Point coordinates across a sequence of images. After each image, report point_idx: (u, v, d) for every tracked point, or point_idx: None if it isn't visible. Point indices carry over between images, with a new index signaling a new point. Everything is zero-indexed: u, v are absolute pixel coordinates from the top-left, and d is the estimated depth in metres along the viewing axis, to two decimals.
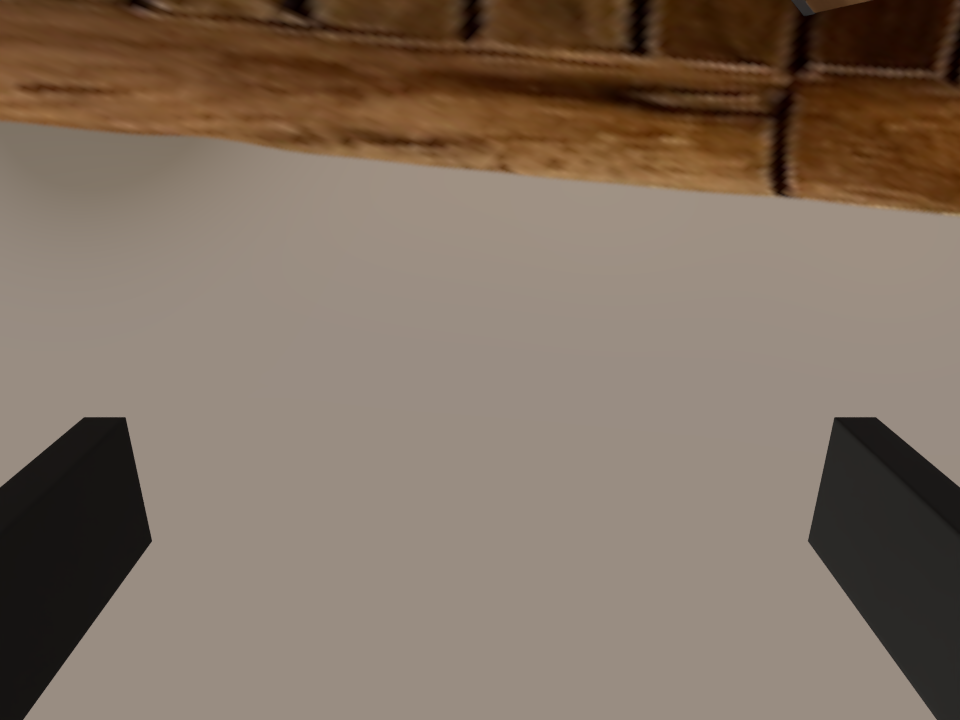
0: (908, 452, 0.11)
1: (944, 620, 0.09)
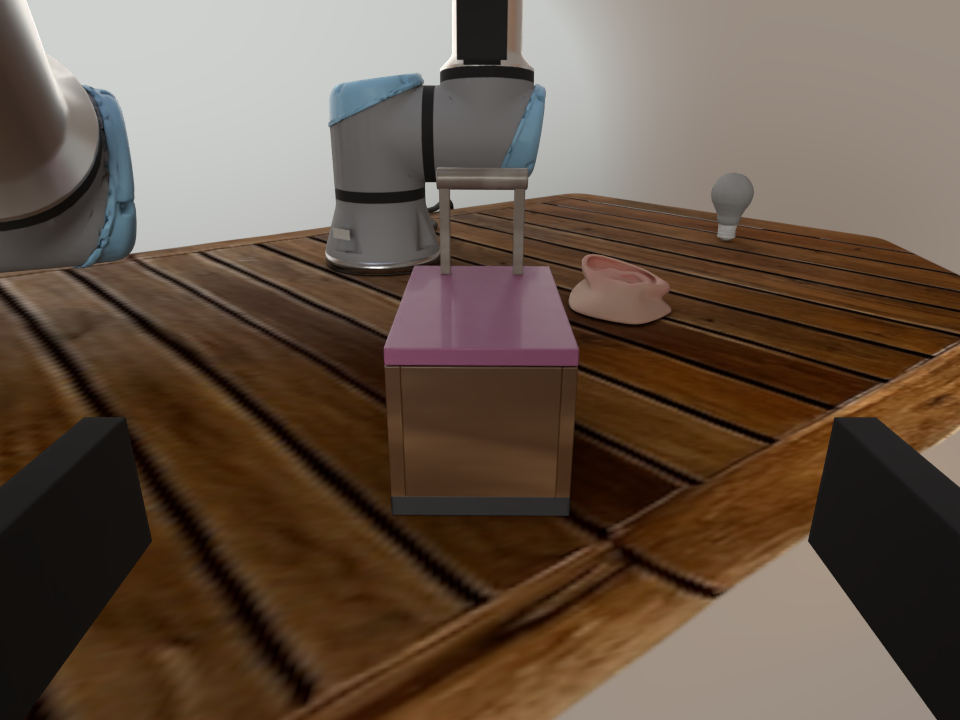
0: (908, 452, 0.11)
1: (944, 620, 0.09)
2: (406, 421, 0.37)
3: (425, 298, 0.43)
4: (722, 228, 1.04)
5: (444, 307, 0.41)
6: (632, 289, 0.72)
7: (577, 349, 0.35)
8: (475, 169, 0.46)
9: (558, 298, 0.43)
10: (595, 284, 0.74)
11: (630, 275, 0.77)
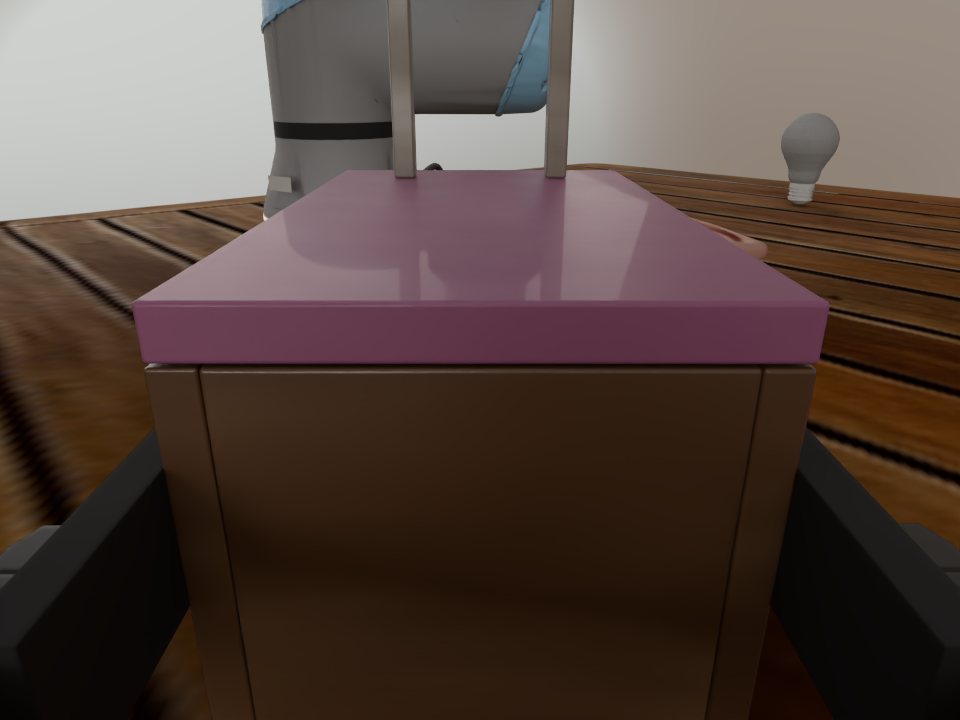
0: None
1: (807, 571, 0.10)
2: (239, 547, 0.11)
3: (344, 205, 0.18)
4: (796, 188, 0.79)
5: (384, 217, 0.16)
6: None
7: (824, 304, 0.10)
8: None
9: (665, 204, 0.18)
10: None
11: None
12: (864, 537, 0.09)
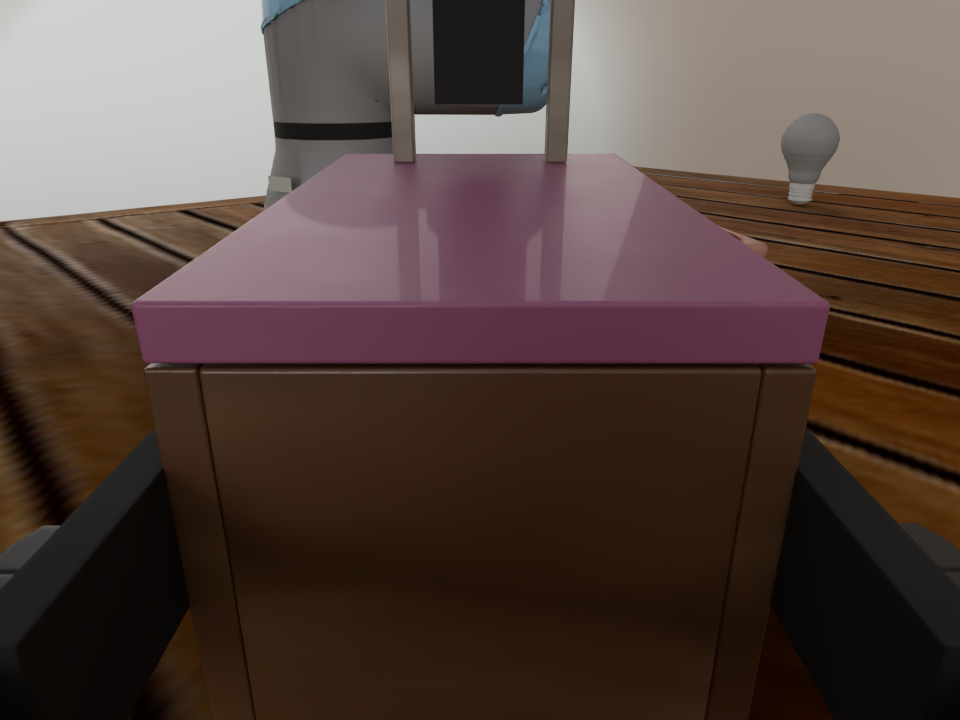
0: None
1: (807, 572, 0.10)
2: (239, 547, 0.11)
3: (342, 194, 0.18)
4: (796, 188, 0.79)
5: (383, 207, 0.16)
6: None
7: (825, 305, 0.10)
8: None
9: (666, 193, 0.18)
10: None
11: None
12: (864, 537, 0.09)
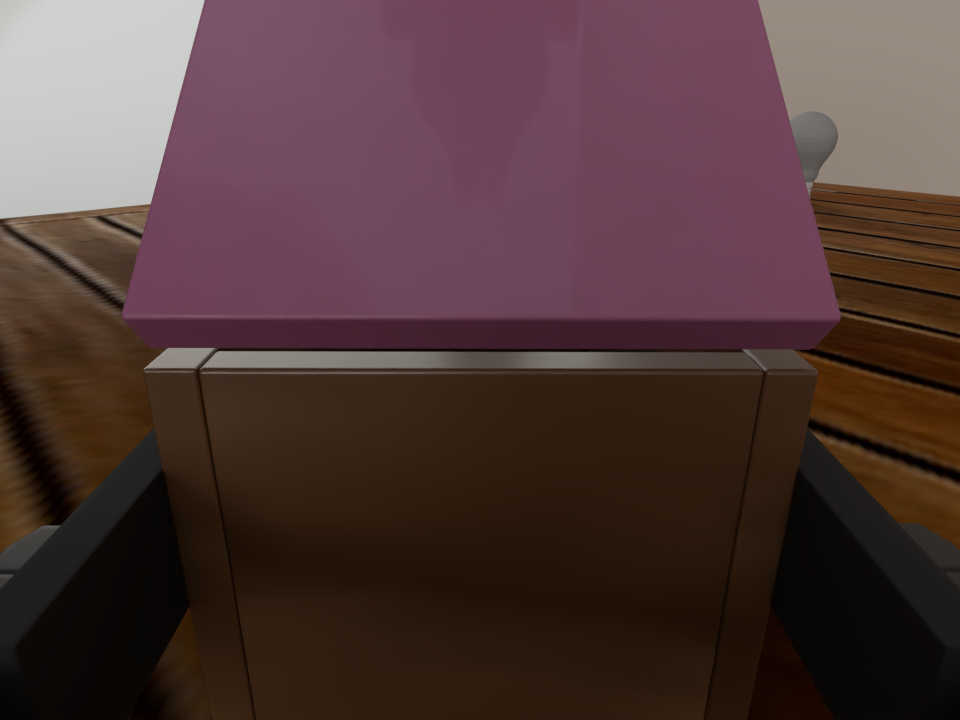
0: None
1: (808, 572, 0.10)
2: (238, 547, 0.11)
3: None
4: None
5: None
6: None
7: (835, 319, 0.10)
8: None
9: None
10: None
11: None
12: (865, 537, 0.09)
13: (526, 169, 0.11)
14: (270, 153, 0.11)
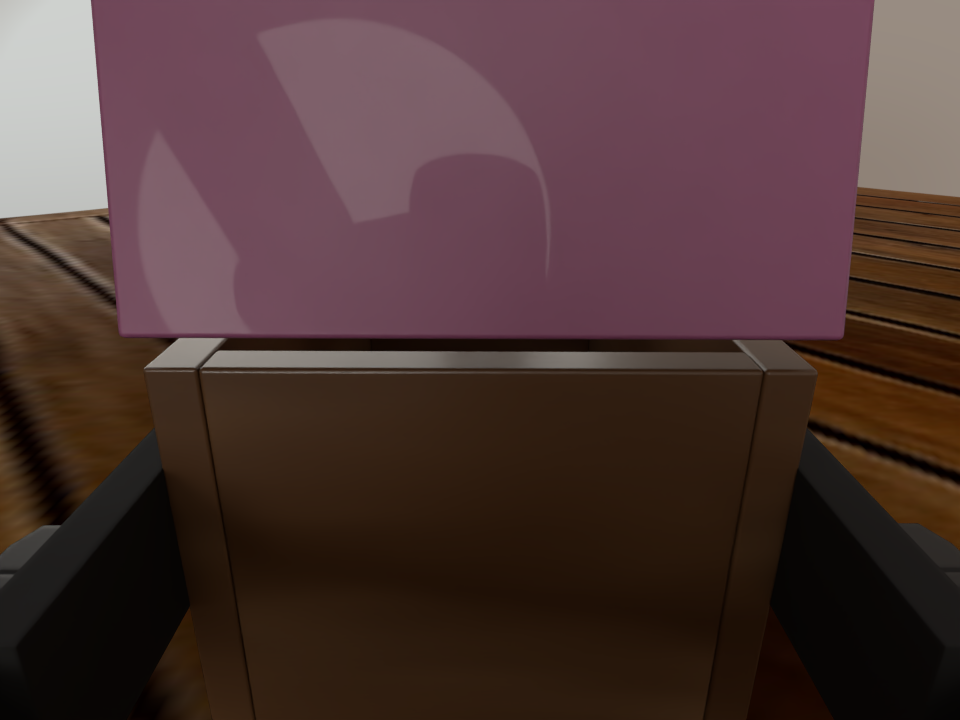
0: None
1: (807, 572, 0.10)
2: (238, 546, 0.11)
3: None
4: None
5: None
6: None
7: (837, 338, 0.09)
8: None
9: None
10: None
11: None
12: (864, 537, 0.09)
13: (535, 139, 0.09)
14: (228, 113, 0.09)
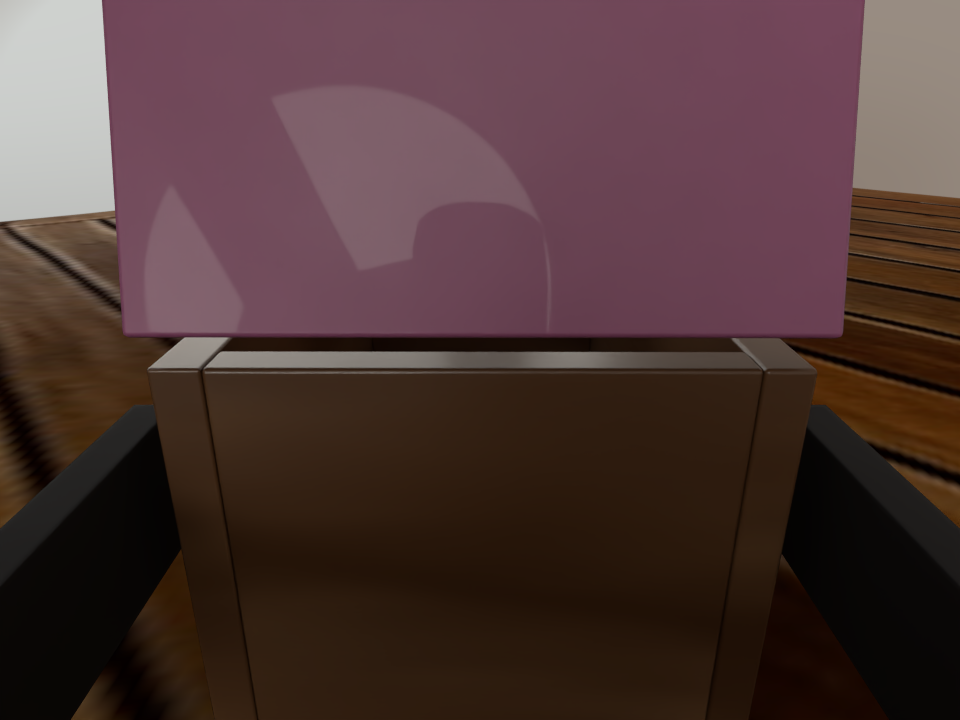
0: (851, 437, 0.12)
1: (875, 595, 0.10)
2: (241, 546, 0.11)
3: None
4: None
5: None
6: None
7: (837, 336, 0.10)
8: None
9: None
10: None
11: None
12: (946, 562, 0.09)
13: (534, 140, 0.09)
14: (234, 115, 0.09)
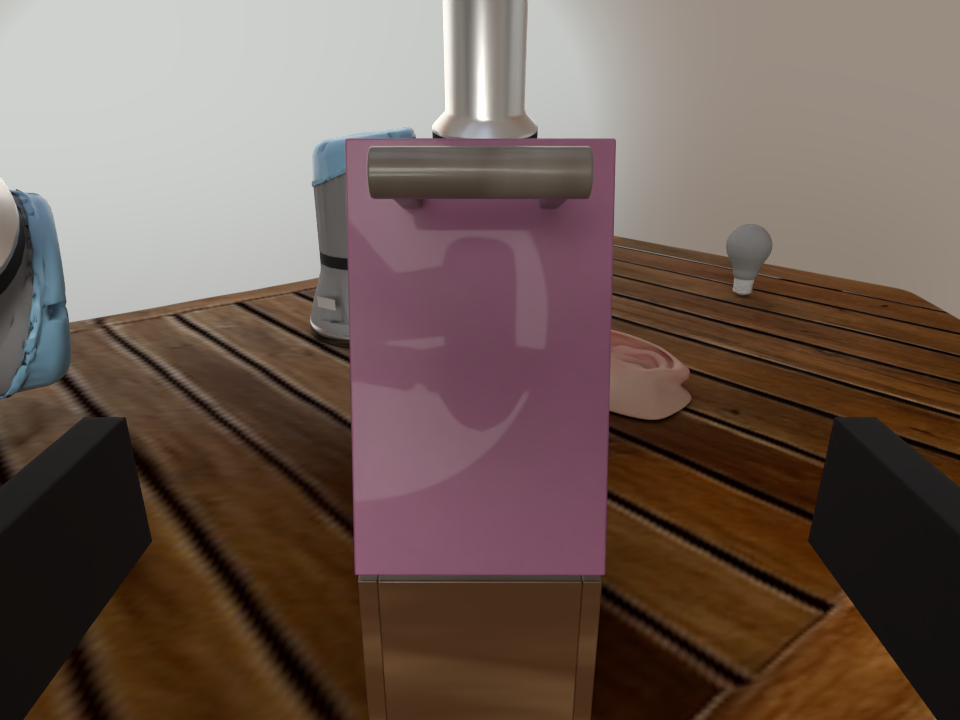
0: (908, 452, 0.11)
1: (944, 620, 0.09)
2: (386, 641, 0.29)
3: (388, 362, 0.26)
4: (738, 282, 0.97)
5: (421, 405, 0.26)
6: (648, 376, 0.64)
7: (603, 574, 0.27)
8: (463, 180, 0.18)
9: (606, 357, 0.26)
10: None
11: (644, 354, 0.70)
12: None
13: (497, 511, 0.27)
14: (395, 503, 0.27)
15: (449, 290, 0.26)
